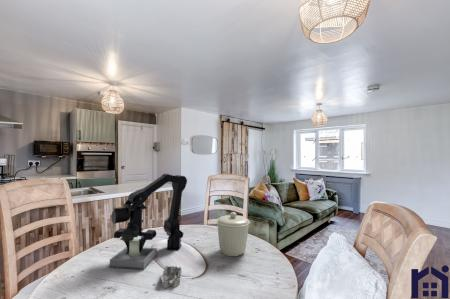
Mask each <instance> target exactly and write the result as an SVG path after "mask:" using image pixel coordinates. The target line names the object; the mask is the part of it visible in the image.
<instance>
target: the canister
mask: <svg viewBox="0 0 450 299" xmlns="http://www.w3.org/2000/svg"><path fill="white" fill-rule="evenodd" d="M215 222H216V225H217V237H218V245H219V249H220V250H219V251H220V252H221V253H222V254H224V255H225V256H228V257H238V256H241V255H242V254H244V253H245V251H246V248H247V242H248V233H249V225H250V224H251V221H250V220H249V219H248V218H247V217H245V216H243V215H237V213H236V212H235V211H231V212H230V213H229V214H226V215H222V216H220V217H218V218H217V219H216V220H215Z"/></svg>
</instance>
